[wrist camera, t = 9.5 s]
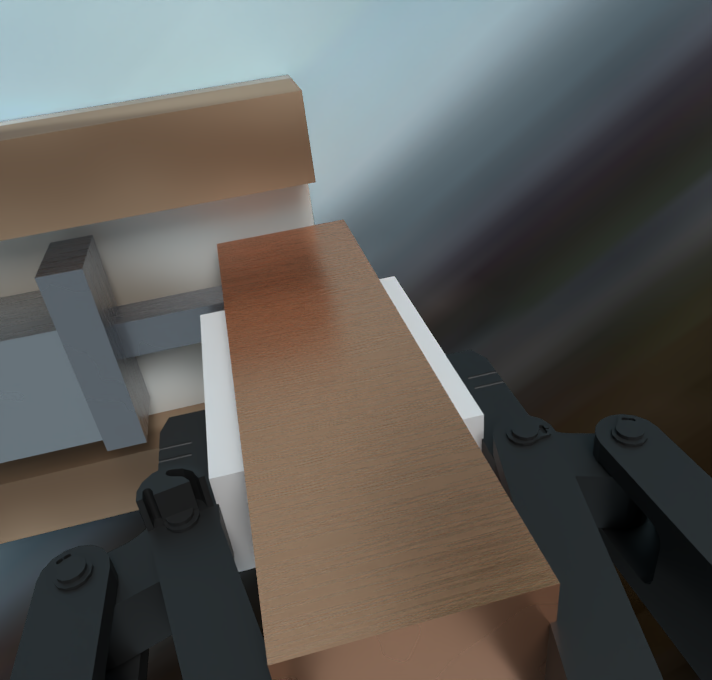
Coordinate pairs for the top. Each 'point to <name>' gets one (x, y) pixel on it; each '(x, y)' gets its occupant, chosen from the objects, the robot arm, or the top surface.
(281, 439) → the brown block with handle
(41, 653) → the robot arm
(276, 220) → the slot board
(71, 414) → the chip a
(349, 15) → the top surface
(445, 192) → the top surface
